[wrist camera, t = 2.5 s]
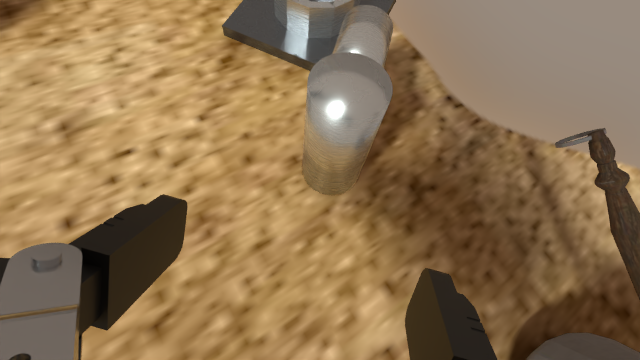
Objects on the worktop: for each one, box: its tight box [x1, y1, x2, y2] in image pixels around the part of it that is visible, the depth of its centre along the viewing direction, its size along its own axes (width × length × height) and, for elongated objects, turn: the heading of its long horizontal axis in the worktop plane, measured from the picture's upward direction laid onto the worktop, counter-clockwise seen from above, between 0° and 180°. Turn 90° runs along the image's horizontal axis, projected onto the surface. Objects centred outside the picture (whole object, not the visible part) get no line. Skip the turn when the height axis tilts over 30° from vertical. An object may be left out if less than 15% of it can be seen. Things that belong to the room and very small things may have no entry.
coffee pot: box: [526, 128, 640, 360], centre depth 19 cm, size 21×12×15 cm, turn 23°
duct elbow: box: [302, 5, 393, 195], centre depth 26 cm, size 10×5×11 cm, turn 165°
